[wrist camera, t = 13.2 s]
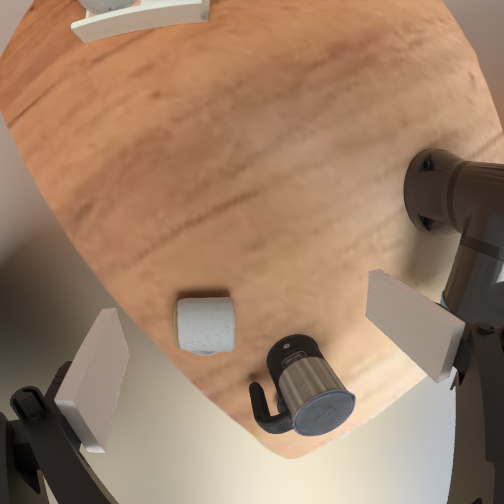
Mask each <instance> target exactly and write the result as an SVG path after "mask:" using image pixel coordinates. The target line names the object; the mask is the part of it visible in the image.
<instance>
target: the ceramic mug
mask: <svg viewBox="0 0 504 504" xmlns="http://www.w3.org/2000/svg"><path fill="white" fill-rule="evenodd" d="M173 336H174V342H175V345H176V346H177V347H178V348H179V349H183V350H188V351H190V352H192V353H195V354H199V355H212V354H216V353H218V352H233V350H234V347H235V316H234V304H233V299H232V297H212V298H185V299H180V300H177V301H176V302H175V304H174V308H173Z"/></svg>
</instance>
